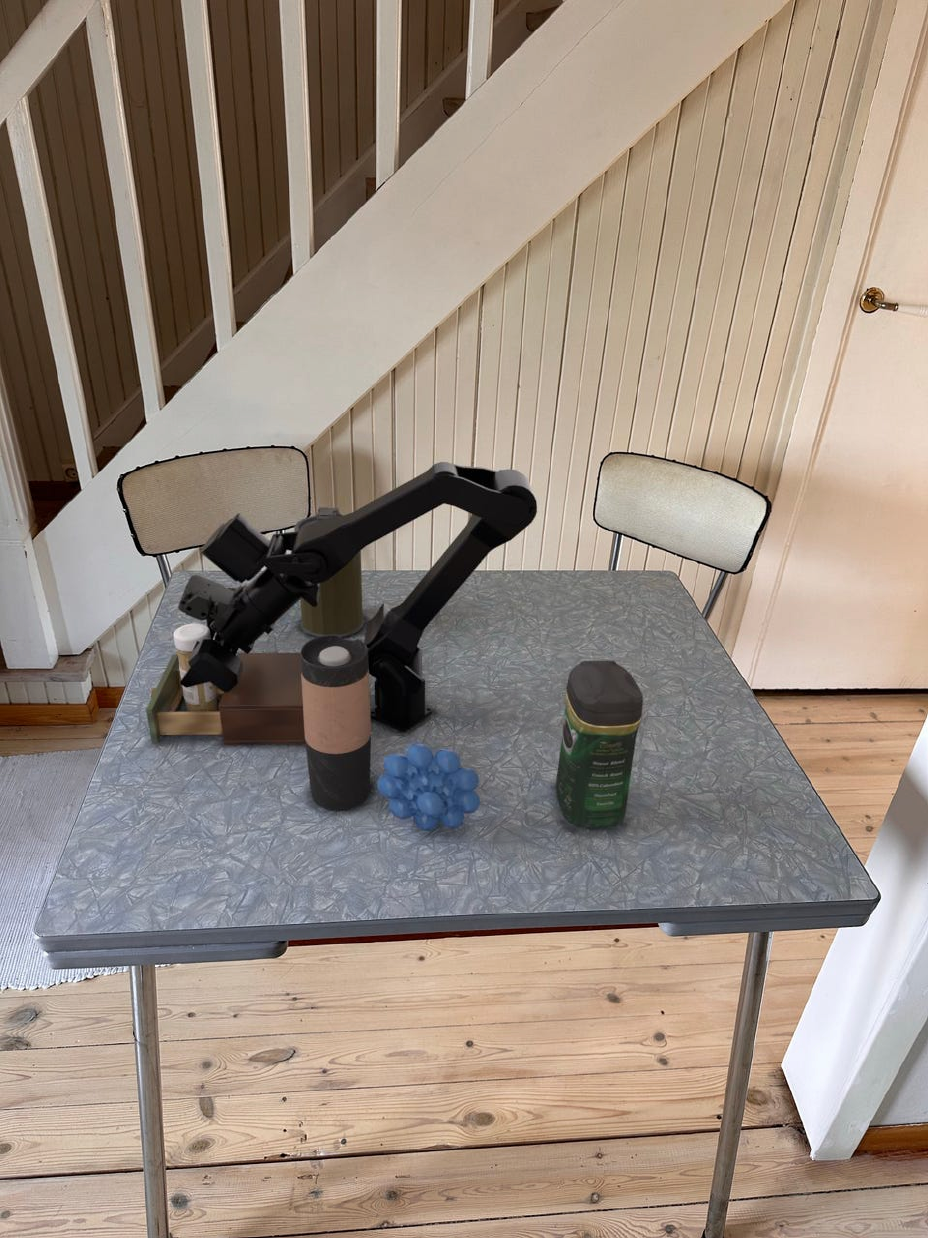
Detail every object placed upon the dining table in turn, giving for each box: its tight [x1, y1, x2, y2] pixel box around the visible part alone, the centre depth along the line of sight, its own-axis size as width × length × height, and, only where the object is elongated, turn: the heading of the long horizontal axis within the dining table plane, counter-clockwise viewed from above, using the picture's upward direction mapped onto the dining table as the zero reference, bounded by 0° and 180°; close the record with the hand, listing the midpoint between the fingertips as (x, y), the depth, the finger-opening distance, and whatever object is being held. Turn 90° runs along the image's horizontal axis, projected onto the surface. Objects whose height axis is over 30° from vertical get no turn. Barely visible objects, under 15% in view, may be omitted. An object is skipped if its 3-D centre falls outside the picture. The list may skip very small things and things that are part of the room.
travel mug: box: [299, 634, 372, 812], centre depth 98 cm, size 8×8×20 cm
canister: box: [293, 506, 365, 639], centre depth 135 cm, size 11×10×20 cm
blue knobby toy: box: [376, 743, 481, 832], centre depth 93 cm, size 12×7×12 cm, turn 93°
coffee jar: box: [555, 659, 644, 831], centre depth 97 cm, size 10×8×19 cm
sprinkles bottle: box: [173, 623, 220, 712], centre depth 112 cm, size 5×5×13 cm
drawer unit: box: [218, 652, 306, 746], centre depth 114 cm, size 12×13×6 cm
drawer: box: [145, 654, 224, 745], centre depth 114 cm, size 13×14×5 cm
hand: (187, 675), depth 112 cm, fingers closed on sprinkles bottle, 4 cm apart
